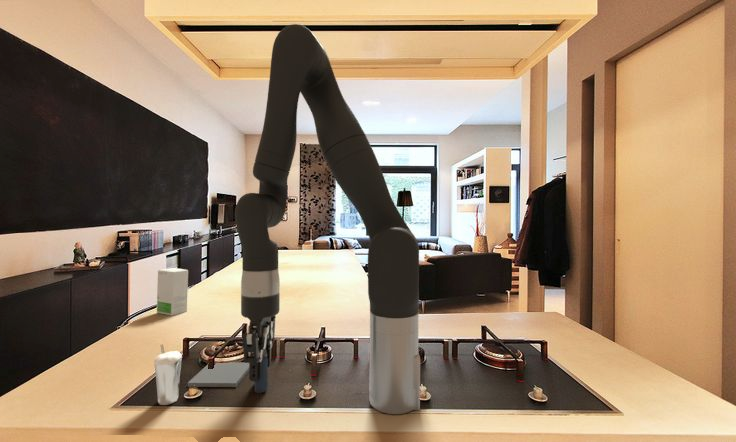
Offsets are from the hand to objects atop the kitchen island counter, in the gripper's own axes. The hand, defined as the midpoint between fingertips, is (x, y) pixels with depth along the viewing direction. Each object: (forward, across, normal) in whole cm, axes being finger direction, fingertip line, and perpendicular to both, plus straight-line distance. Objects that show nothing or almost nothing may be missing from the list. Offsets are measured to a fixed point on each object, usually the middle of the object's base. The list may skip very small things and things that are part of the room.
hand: (260, 372), depth 71 cm
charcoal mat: (+3, +5, +10) cm, 12 cm away
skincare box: (+3, +54, +49) cm, 73 cm away
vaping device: (+3, 0, 0) cm, 3 cm away
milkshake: (+3, -5, +16) cm, 17 cm away
